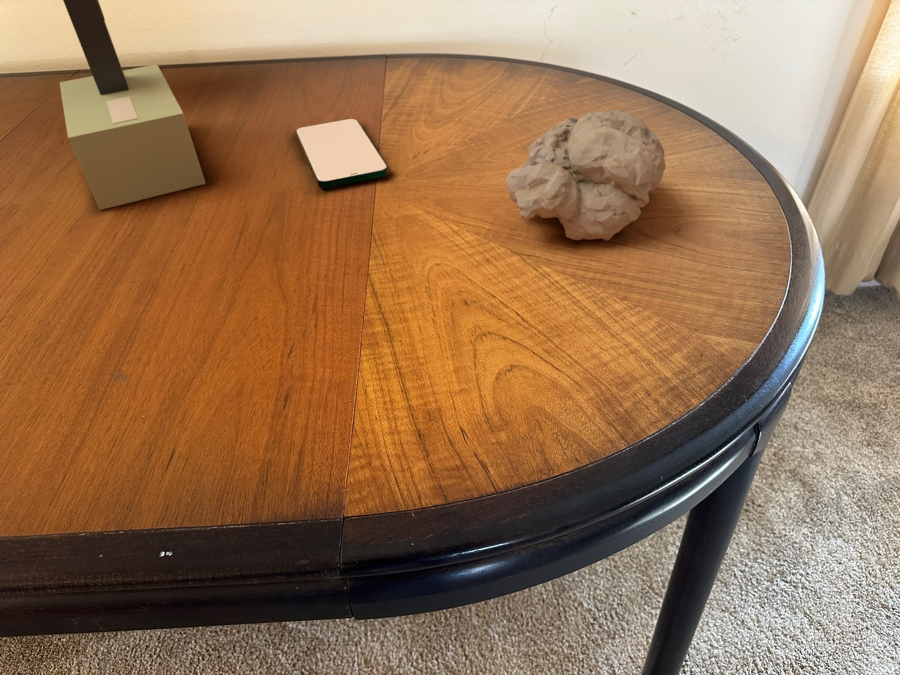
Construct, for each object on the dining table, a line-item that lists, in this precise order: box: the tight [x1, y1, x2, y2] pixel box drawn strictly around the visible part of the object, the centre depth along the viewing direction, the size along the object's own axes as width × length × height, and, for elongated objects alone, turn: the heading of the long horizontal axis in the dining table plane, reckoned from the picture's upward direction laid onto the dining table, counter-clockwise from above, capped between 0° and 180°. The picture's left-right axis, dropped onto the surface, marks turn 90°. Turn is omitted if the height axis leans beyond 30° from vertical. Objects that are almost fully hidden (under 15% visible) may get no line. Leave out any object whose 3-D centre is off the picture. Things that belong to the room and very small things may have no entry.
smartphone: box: [295, 118, 389, 189], centre depth 75 cm, size 8×1×16 cm
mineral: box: [505, 109, 666, 242], centre depth 61 cm, size 12×17×10 cm
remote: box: [62, 0, 129, 95], centre depth 69 cm, size 3×5×13 cm, turn 26°
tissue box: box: [59, 64, 206, 211], centre depth 74 cm, size 18×11×8 cm, turn 27°
